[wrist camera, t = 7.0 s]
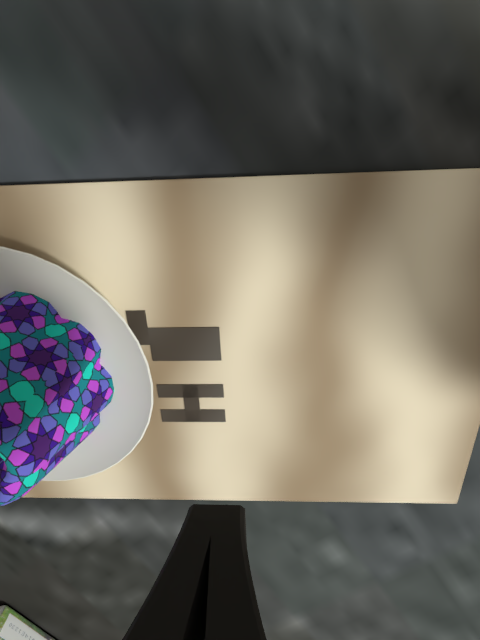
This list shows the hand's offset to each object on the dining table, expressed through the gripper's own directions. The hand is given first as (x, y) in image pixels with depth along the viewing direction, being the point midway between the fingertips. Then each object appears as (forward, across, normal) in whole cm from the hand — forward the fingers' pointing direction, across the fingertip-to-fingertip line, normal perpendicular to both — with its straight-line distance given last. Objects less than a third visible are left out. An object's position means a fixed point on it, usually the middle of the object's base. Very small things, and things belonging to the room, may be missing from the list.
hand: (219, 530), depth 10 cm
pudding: (+8, +10, 0) cm, 12 cm away
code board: (+8, +3, 0) cm, 8 cm away
